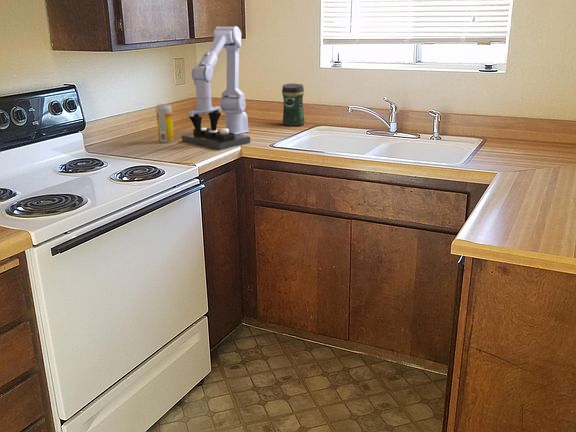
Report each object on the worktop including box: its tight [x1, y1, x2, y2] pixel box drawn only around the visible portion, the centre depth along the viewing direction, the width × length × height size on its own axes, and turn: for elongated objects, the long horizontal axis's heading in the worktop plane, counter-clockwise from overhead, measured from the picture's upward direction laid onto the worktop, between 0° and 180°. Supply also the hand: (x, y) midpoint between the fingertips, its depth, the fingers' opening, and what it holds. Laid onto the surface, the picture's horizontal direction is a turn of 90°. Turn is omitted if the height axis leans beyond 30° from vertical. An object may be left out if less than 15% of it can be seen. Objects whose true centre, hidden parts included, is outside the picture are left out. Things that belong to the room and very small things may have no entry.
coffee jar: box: [281, 83, 305, 127], centre depth 265 cm, size 10×8×19 cm
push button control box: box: [181, 126, 251, 151], centre depth 237 cm, size 16×26×5 cm, turn 46°
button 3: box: [219, 127, 229, 135], centre depth 230 cm, size 4×4×2 cm
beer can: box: [155, 103, 175, 144], centre depth 237 cm, size 6×6×15 cm
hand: (206, 131), depth 232 cm, fingers open, 7 cm apart
